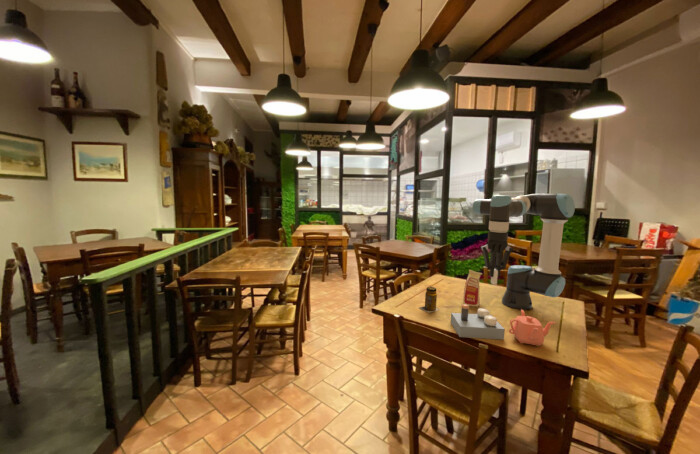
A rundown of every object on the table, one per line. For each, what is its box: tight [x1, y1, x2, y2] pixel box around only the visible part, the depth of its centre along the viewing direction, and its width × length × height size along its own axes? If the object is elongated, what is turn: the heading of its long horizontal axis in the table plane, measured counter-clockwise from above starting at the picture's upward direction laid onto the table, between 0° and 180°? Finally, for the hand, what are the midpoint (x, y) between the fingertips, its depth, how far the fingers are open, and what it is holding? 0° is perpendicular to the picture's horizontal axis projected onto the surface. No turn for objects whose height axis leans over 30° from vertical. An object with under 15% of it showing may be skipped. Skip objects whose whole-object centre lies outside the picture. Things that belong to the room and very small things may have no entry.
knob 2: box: [484, 315, 498, 327], centre depth 122 cm, size 5×5×8 cm
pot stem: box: [460, 303, 470, 321], centre depth 127 cm, size 3×3×7 cm
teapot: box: [508, 309, 557, 346], centre depth 119 cm, size 14×14×11 cm
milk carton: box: [462, 269, 483, 308], centre depth 159 cm, size 9×9×20 cm
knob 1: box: [476, 307, 490, 319], centre depth 130 cm, size 5×5×8 cm
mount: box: [450, 312, 506, 341], centre depth 127 cm, size 19×14×5 cm
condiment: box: [419, 286, 440, 314], centre depth 150 cm, size 7×8×12 cm
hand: (493, 283), depth 120 cm, fingers closed
